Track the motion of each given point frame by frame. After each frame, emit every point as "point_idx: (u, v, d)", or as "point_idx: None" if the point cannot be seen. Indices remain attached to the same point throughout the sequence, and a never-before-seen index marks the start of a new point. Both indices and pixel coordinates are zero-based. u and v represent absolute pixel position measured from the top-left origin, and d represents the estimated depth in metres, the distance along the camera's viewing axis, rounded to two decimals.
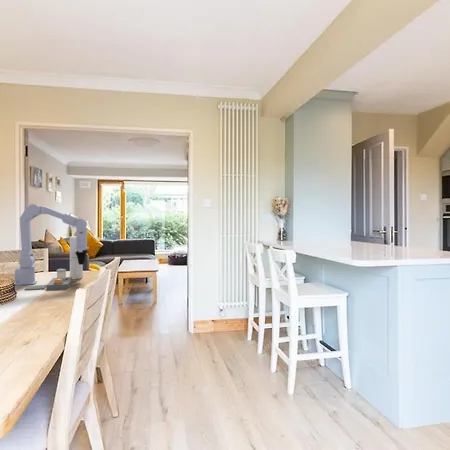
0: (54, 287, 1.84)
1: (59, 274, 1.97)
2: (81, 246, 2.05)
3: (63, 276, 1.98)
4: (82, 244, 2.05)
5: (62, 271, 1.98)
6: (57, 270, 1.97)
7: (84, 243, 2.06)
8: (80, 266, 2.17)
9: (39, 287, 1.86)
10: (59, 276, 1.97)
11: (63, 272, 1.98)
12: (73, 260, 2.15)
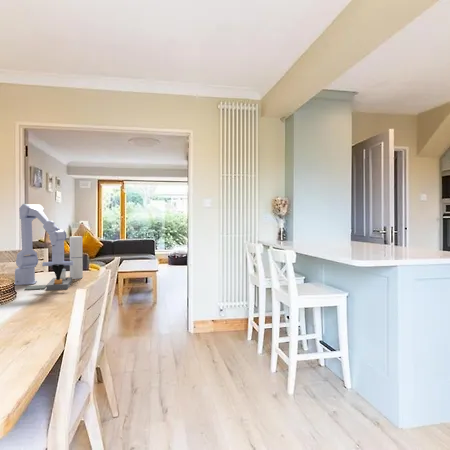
0: (54, 287, 1.84)
1: None
2: (52, 260, 1.87)
3: (63, 276, 1.98)
4: (52, 258, 1.86)
5: (62, 271, 1.98)
6: None
7: (52, 257, 1.85)
8: (80, 266, 2.17)
9: (39, 287, 1.86)
10: None
11: (63, 272, 1.98)
12: (73, 260, 2.15)
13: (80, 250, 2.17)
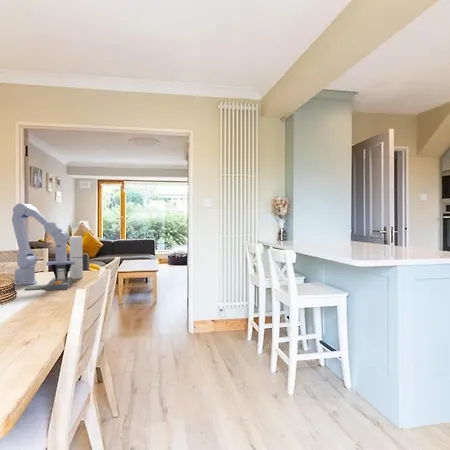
0: (54, 287, 1.84)
1: (59, 274, 1.97)
2: None
3: (63, 276, 1.98)
4: None
5: (62, 271, 1.98)
6: (57, 270, 1.97)
7: (56, 257, 1.97)
8: (80, 266, 2.17)
9: (39, 287, 1.86)
10: (59, 276, 1.97)
11: (63, 272, 1.98)
12: (73, 260, 2.15)
13: (80, 250, 2.17)
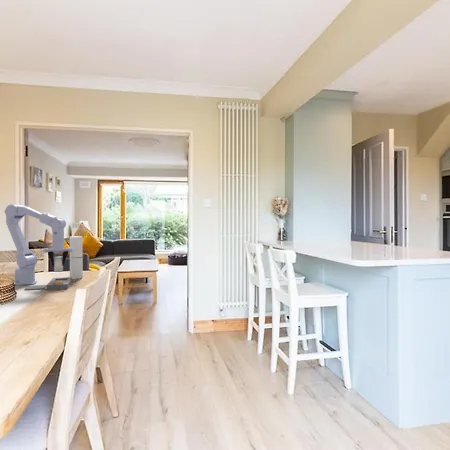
0: (54, 287, 1.84)
1: (56, 261, 1.96)
2: None
3: (60, 263, 1.97)
4: (52, 245, 1.96)
5: (59, 258, 1.96)
6: (54, 257, 1.96)
7: (53, 244, 1.95)
8: (80, 266, 2.17)
9: (39, 287, 1.86)
10: (56, 263, 1.96)
11: (60, 259, 1.97)
12: (73, 260, 2.15)
13: (80, 250, 2.17)
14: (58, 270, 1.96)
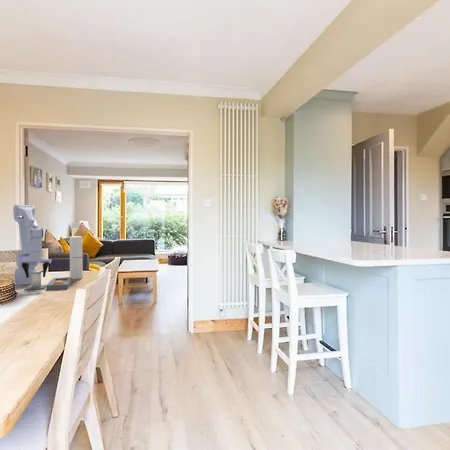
0: (54, 287, 1.84)
1: (33, 276, 1.86)
2: (29, 258, 1.86)
3: (38, 279, 1.86)
4: (29, 256, 1.86)
5: (37, 273, 1.86)
6: (31, 272, 1.86)
7: (30, 255, 1.85)
8: (80, 266, 2.17)
9: (39, 287, 1.86)
10: (33, 279, 1.86)
11: (38, 274, 1.86)
12: (73, 260, 2.15)
13: (80, 250, 2.17)
14: (35, 286, 1.86)
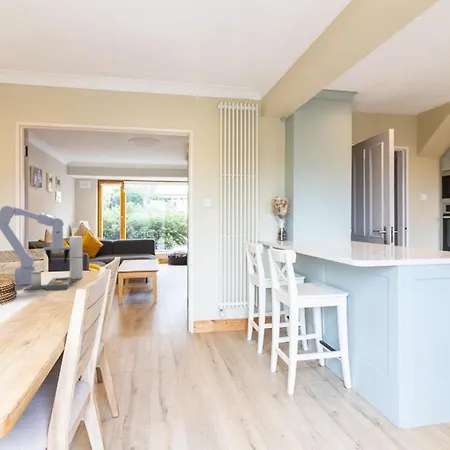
0: (54, 287, 1.84)
1: (33, 276, 1.86)
2: (52, 245, 2.06)
3: (38, 279, 1.86)
4: (52, 243, 2.05)
5: (37, 273, 1.86)
6: (31, 272, 1.86)
7: (53, 243, 2.04)
8: (80, 266, 2.17)
9: (39, 287, 1.86)
10: (33, 279, 1.86)
11: (38, 274, 1.86)
12: (73, 260, 2.15)
13: (80, 250, 2.17)
14: (35, 286, 1.86)
